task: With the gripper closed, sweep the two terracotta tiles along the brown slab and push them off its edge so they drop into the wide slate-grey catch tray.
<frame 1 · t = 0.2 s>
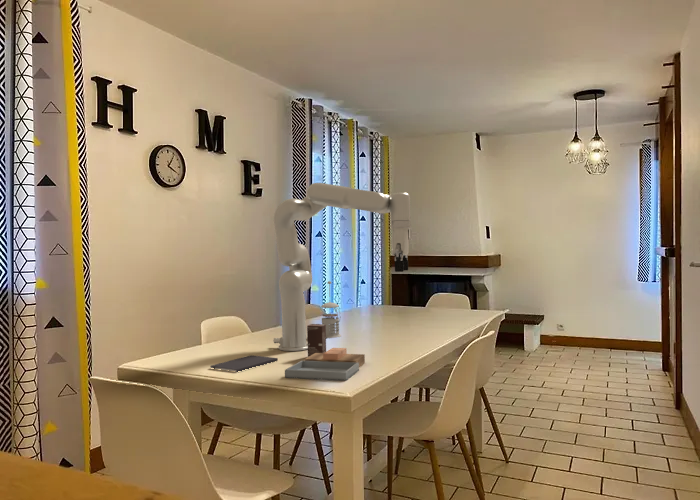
hand: (401, 270, 214), 31 cm above the table, tool pointing down, fingers open, 9 cm apart
notebook: (244, 366, 198), on the table
catch tray: (322, 373, 181), on the table
brown slab: (335, 365, 193), on the table
french press: (331, 336, 257), on the table
box: (317, 357, 208), on the table
tile 2: (337, 355, 196), point 3 cm above the table, touching brown slab
tile 1: (332, 358, 191), point 3 cm above the table, touching brown slab
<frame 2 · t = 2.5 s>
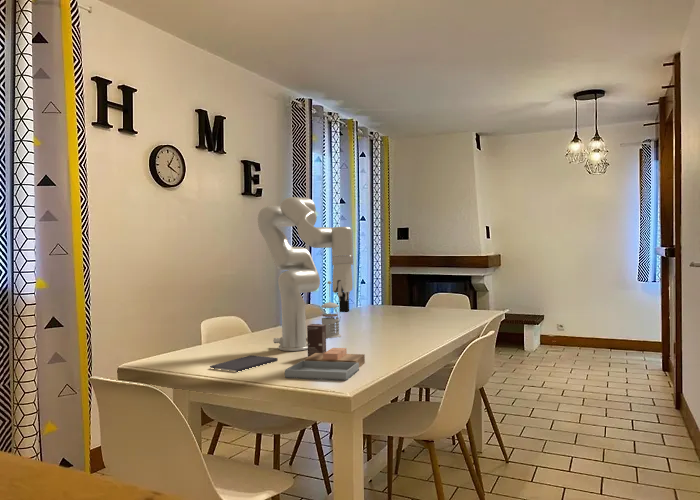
hand: (344, 311, 204), 17 cm above the table, tool pointing down, fingers closed
nothing on the table moved.
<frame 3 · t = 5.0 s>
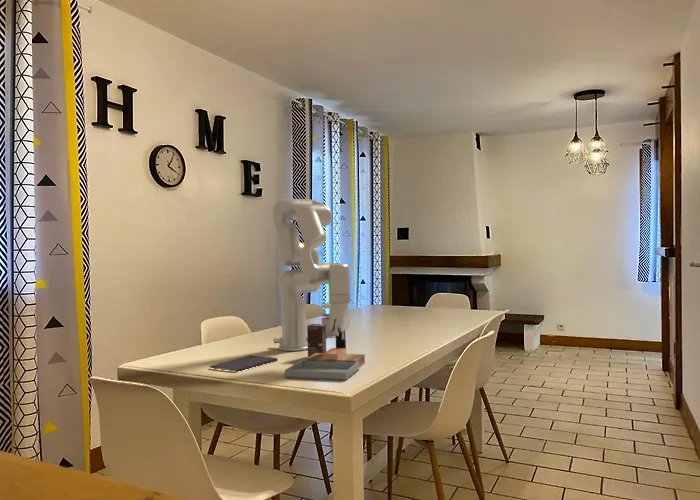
hand: (340, 350, 200), 4 cm above the table, tool pointing down, fingers closed
tile 2: (337, 355, 196), point 3 cm above the table, touching gripper
everything else where it was.
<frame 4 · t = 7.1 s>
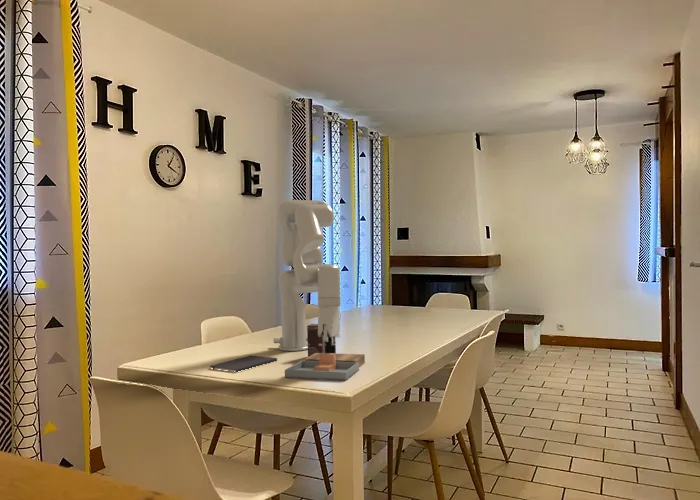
hand: (330, 357, 189), 4 cm above the table, tool pointing down, fingers closed
tile 2: (328, 360, 187), point 3 cm above the table, tilted 93°, touching catch tray
tile 1: (323, 365, 182), point 2 cm above the table, tilted 180°, touching catch tray
everything else where it was.
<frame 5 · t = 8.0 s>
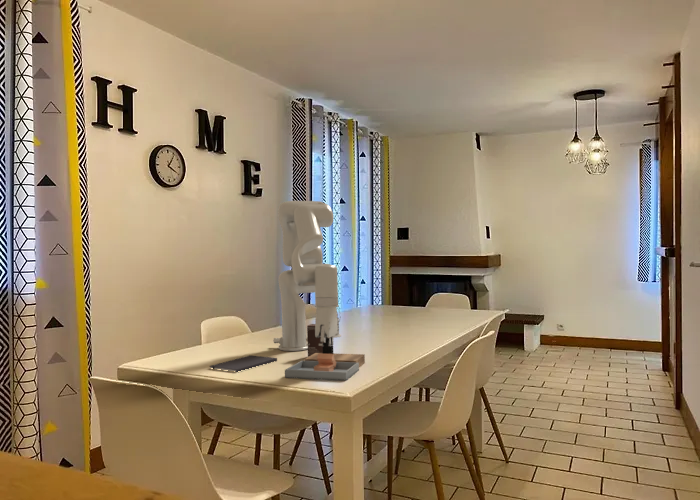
hand: (328, 358, 186), 4 cm above the table, tool pointing down, fingers closed
tile 2: (327, 358, 185), point 4 cm above the table, tilted 131°, touching gripper, tile 1
tile 1: (323, 365, 182), point 2 cm above the table, tilted 180°, touching catch tray, tile 2
everything else where it was.
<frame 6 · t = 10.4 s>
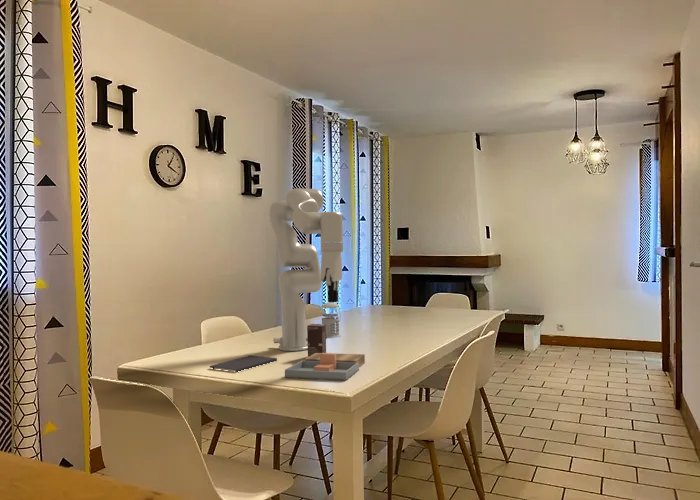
hand: (333, 301, 193), 22 cm above the table, tool pointing down, fingers closed
tile 2: (329, 360, 187), point 3 cm above the table, tilted 90°, touching catch tray
tile 1: (323, 365, 182), point 2 cm above the table, tilted 180°, touching catch tray
everything else where it was.
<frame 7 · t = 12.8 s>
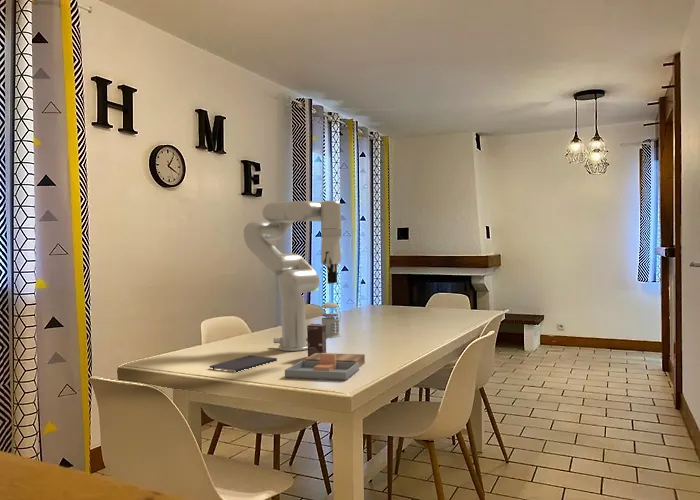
hand: (332, 282, 212), 27 cm above the table, tool pointing down, fingers closed
nothing on the table moved.
at the end: tile 2 inside the target area (6.7 cm from its centre), point 3.0 cm above the table; tile 1 inside the target area (1.2 cm from its centre), point 2.5 cm above the table; tile 2 touching catch tray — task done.
